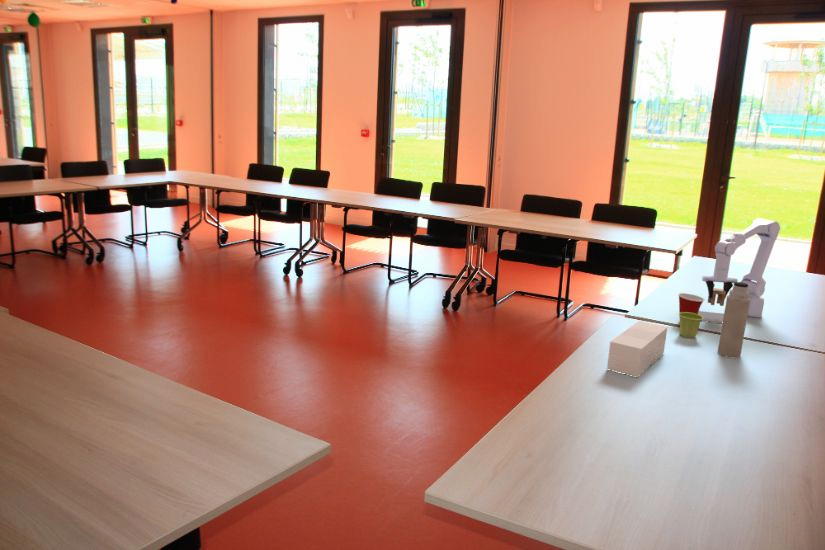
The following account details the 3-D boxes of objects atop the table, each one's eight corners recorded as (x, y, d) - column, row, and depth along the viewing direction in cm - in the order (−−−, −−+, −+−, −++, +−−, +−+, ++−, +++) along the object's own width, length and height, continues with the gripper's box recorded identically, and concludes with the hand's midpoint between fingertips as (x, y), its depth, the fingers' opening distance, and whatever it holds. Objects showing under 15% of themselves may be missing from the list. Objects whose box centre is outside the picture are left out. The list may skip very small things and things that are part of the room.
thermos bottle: (716, 349, 268) (728, 279, 262) (739, 352, 266) (751, 282, 259) (718, 355, 261) (730, 284, 254) (741, 359, 259) (754, 286, 252)
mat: (728, 314, 316) (728, 314, 316) (736, 325, 301) (736, 324, 301) (691, 311, 319) (691, 310, 319) (697, 321, 304) (698, 320, 304)
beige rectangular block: (637, 378, 234) (641, 348, 232) (606, 370, 240) (610, 341, 238) (663, 354, 260) (667, 327, 258) (635, 347, 266) (639, 320, 263)
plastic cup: (704, 327, 296) (709, 300, 293) (679, 325, 296) (683, 298, 293) (695, 319, 307) (699, 293, 304) (670, 318, 307) (674, 291, 304)
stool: (719, 303, 311) (721, 288, 310) (723, 306, 306) (725, 291, 305) (707, 302, 312) (709, 287, 310) (711, 305, 307) (713, 290, 305)
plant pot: (700, 334, 285) (703, 314, 283) (699, 341, 277) (702, 320, 275) (676, 330, 289) (679, 310, 287) (674, 336, 281) (677, 316, 278)
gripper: (735, 267, 308) (730, 296, 311) (701, 265, 309) (697, 294, 312) (741, 270, 301) (736, 300, 304) (707, 268, 302) (702, 298, 306)
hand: (716, 297), depth 308 cm, fingers closed on stool, 5 cm apart
